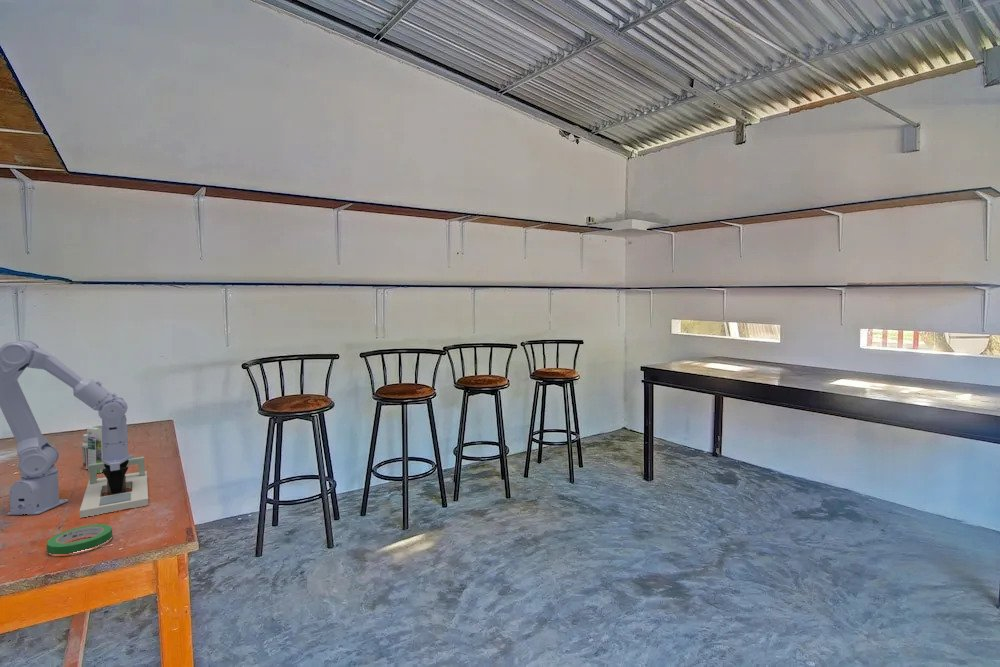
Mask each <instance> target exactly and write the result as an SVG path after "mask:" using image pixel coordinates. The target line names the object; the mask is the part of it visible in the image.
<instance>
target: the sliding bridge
mask: <svg viewBox="0 0 1000 667" xmlns="http://www.w3.org/2000/svg"><path fill="white" fill-rule="evenodd" d="M128 460H129V462H128V464H127V466H126V467H129V466H136V465H138V472H139V475H145V471H146V470H145V456H137V457H133V458H131V459H128ZM101 469H106V468H105V467H104V463H102V462H101V463H94V464H89V472H88V473H89V480H90V483H95V482H97V479H98V476H97V474H98V473H97V471H96V470H101Z"/></svg>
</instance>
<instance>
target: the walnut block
mask: <svg viewBox="0 0 1000 667" xmlns="http://www.w3.org/2000/svg"><path fill="white" fill-rule="evenodd" d="M107 491H108V492H107V496H108V495H114V494H112V493H111V490H110V486H109V483H108V480H107ZM126 492H127V489H126V475H125V476H124V480H123V487H122V491H121V493H126ZM115 494H120V493H115Z"/></svg>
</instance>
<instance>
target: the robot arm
mask: <svg viewBox="0 0 1000 667" xmlns="http://www.w3.org/2000/svg"><path fill="white" fill-rule="evenodd" d="M26 368H29V369H30V368H31V369H37V370H43V371H46V372H47V373H49V374H50V375H51V376H53V377H55V378H57V379H58V380H60V381H61V382H63V383H64V384H66V385H67V386H69V387H70V388H72V390H73V392H72V393H73V396H74V397H75V398H76V399H78V400H79V401H81V402H82V403H84V404H85V405H87V406H88V407H89V408H91V409H93V410H94V411H98V413H97V414H98V416H99V417H100V419H101V425H102V453H103V459H102V463H104V467H105V468H106V469H103V470H102V472H103V473H102V475H104V477H106V478H107V480H108V483H109V486H110V490H111V493H112V494H115V493H121V491H122V487H123V480H124V476H125V474H127V471H128V469H129V466H127V464H128V462H129V460H128V459H131V458H134V454H129V442H128V438H129V437H128V436H129V435H128V424H127V415H126V413H127V411H128V403H127V402H126V401H125V400H124V398H122V397H118V394H116V393H115V392H114V393H111V392H110V391H109V390H108V389H107V388H105V387H103V382H101V381H100V380H97V381H96V380H94V379H84V378H83V377H81V376H80V375H79V374H77V372H76V371H74V370H72V369H71V368H70V367H69V366H67V365H66V364H65V363H64V362H63V361H61V360H60V359H58V357H56V356H55V355H53V354H52V353H51V352H50V351H48V350H47V349H45V348H43V347H40V346H39V345H38V344H36V343H35V342H33V341H32V340H18V341H9V342H6V343H5V344H3V345H2V346H1V347H0V410H1V411H2V414H3V416H4V418H5V421H6V423H7V425H8V427H9V429H10V431H11V434H12V435H13V438H14V439H15V440H14V441H16V444H17V446H16V453H17V456H18V459H19V460H18V465H17V466H18V467H17V468H18V470H19V472H20V473H21V474H20V478H19V479H18V480H17V481H16V482H14V483H13V484H12V485H11V486H10V488H9V504H10V505H9V506H10V508H9V509H10V511H8V512H7V513H6V514H7V515H8V516H9V515H10V516H14V515H15V516H17V515H18V516H19V515H20V516H21V515H23V514H24V515H25V514H27V515H40V514H42V513H45V512H47V511H49V510H51V509H53V508H56V507H59V506H60V505H62V504H64V503H65V504H66V503H68V502H69V499H65V498H64V499H63V498H62V499H60V487H59V484H60V482H59V468H58V467H56V465H55V464H56V463H57V462H58V461H59V457H60V452H59V451H58V448H56V447H54V446H52V445H51V443H50V441H49V440H48V438H47V437H46V436H44V435H43V433H42V431H41V429H40V427H39V424H38V422H37V421H36V420H37V419H35V416H34V413H33V411H32V409H31V408H30V405H29V402H28V401H27V398H26V396H25V393H24V392H23V389H22V387H21V386H20V382H19V381H18V379H19V378H20V376H21V375H22V373H23V372H24V371H25V370H26Z"/></svg>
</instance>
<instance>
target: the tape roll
mask: <svg viewBox="0 0 1000 667" xmlns="http://www.w3.org/2000/svg"><path fill="white" fill-rule="evenodd" d="M86 535H96V536H94V537H91V538H84V539H80V540H76V541H73V542H70V543H64V542H66V541H68V540H71V539H74V538H77V537H81V536H86ZM111 537H112V538H113V528H112V526H111V525H109V524H103V523H101V524H98V523H97V524H90V525H83V526H78V527H74V528H71V529H69V530H68V529H67V530H65V531H61V532H60V533H57V534H56V535H53V536H52V537H50V538H49V539H48V540H47V541H46V553H47V552H48V553H51V554H69V553H73V552H77V551H81V550H85V549H89V548H92V547H95V546H98V545H100V544H102V543H104V542H106V541H107V540H109V539H110V538H111Z"/></svg>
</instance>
